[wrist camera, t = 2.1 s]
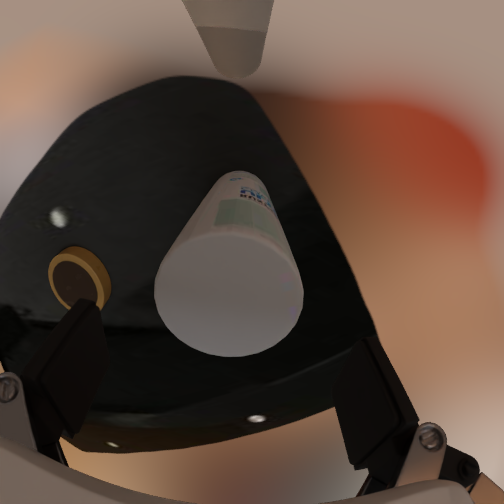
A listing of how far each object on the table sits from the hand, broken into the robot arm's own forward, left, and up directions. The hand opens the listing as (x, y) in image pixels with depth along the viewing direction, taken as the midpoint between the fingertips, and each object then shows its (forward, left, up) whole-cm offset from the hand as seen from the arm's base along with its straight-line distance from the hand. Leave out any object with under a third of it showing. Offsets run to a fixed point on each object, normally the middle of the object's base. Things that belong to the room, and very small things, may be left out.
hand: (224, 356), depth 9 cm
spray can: (0, 0, -23) cm, 23 cm away
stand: (+14, -21, -23) cm, 34 cm away
